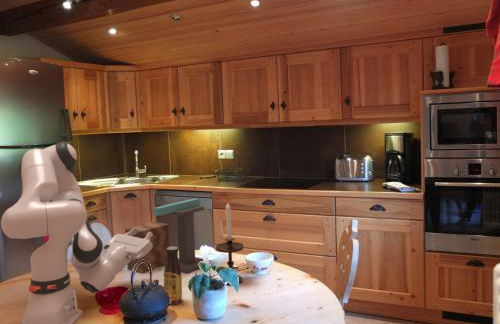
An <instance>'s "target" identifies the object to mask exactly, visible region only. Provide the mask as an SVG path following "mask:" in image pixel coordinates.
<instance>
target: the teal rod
mask: <svg viewBox="0 0 500 324" xmlns="http://www.w3.org/2000/svg"><path fill="white" fill-rule="evenodd" d="M196 206H201V200H200V198H191V199H186V200H180V201H178V202H173V203H167V204H165V205H159V206H157V207H153V215H154V216H157V217H158V216H160V217H161V216H164V215H169V214H168V213H172V212H176V211H180V210H184V209H188V208H192V207H196Z"/></svg>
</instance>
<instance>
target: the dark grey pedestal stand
mask: <svg viewBox="0 0 500 324" xmlns="http://www.w3.org/2000/svg"><path fill="white" fill-rule="evenodd" d="M202 211H205V206H201V205H200V206H196V207H192V208H188V209H184V210H180V211H176V212H172V213H168V214H167V215H171V216H172V215H173V216H176V222H177V224H176V225H177V243H178V246H177V247H178V261H179V263H180V264H181V273H182V274H187V275H189V274H191V273H193V272H195V271H199V270H201V269H200V268H199V266H198V263H199V262H200V261H203V259H204V258H201V257H197V256H196V247H195V246H196V245H195V244H196V243H195V225H194V224H195V223H194V222H195V221H194V213H198V212H202ZM165 266H166V263H165V265H164V267H165Z"/></svg>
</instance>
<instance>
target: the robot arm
mask: <svg viewBox="0 0 500 324" xmlns="http://www.w3.org/2000/svg"><path fill="white" fill-rule="evenodd" d="M78 160H79V159H78V155H77V151H76V149H75V148H74V146H72V145H71V144H70V143H69V142H67V141H62V142H61V141H60V142H57V143H55V144H53V145H50V146H48V147H45V148H43V149H42V148H31V149H29V150H27V151H26V152H25V153H24V155H23V156H22V159H21V160H20V161H19V163H18V164H17V165H18V166H17V172H18V174H19V177H20V178H21V181H22V182H21V183H22V184H21V185H22V192H21V195H20V198H19V199H18V201H17V202H15V203H14V204H13V205H12V206H11V207H9V208H7V209H6V210H5V211H4V213H3V214H2V216H1V219H0V220H1V221H0V225H1V230H2V232H3V233H4V235H5V236H6V237H7V238H9V239H19V240H20V239H21V240H27V239H32V238H33V239H34V238H40V237H42V238H43V237H45V236H50V237H49V240H48V241H47V243H45V242H44V244H43V245H41V246H39V247H38V248H37V249H35V250H34V251H33V252H32V254H31V255H30V270H31V278H30V283H29V286H28V292H29V293H28V295H29V296H28V299H27V304H26V307H25V313H24V315H23V317H22V320H21V323H20V324H74V323H75V322H76V321H77V320H78V319H79V318H80V317H81V316H82V315H83V314H84V313H83V310H82V309H79V308H78V302H77V295H76V290H75V289H74V288H73V287H72V286H71V284H70V283H71V275H70V273H69V271H68V270H69V269H68V253H69V252H68V250H69V246H70V244H71V241H72V240H73V241H72V245H71V246H72V247H71V248H72V251H71V252H72V253H71V264H72V266H73V268H74V269H75V270H76V273H77V275H78V276H79V280H80V285H81V286H82V287H83V288H84V289H86V290H87V291H88V292H91V293H99V292H101V291H103V290H105V288H107V286H109V284H111V282H112V281H114V280H115V278H116V276H117V275H118V274H119V273H120V272H122V271H123V270H124V269H125V268H126V267H127V264H128V263H129V262H130V261H131V259H132V260H136V259H140V258H142V257H144V256H145V255H146V254H147V253H148V252H149V251H150V250H151V249H152V247H153V245H152V243H151V242H150V238H151V237H152V236H153V234H152V232H148V233H147V234H146V235H147V236H146V237H145V238H144V239H142V238H137V237H133V236H132V235H135V234H136V233H137V230H136V229H132V230H131V231H130V232H128V233H126V234H125V233H124V234H122V233H117V234H115V235H113V236H112V237H111V238H110V239H109V241H107V243H106V244H104V245H103V241H102V239H101V238H100V236H98V234H97V233H96V232H95V231H94V230H93V228H92V226H91V223H90V221H89V219H88V213H87V210H86V207H85V200H84V196H83V192H82V190H81V188H80V185H79V183H78V181H77V179H76V177H75V175H74V174H73V173H75V170H76V166H77V164H78ZM102 251H103V252H104V253H105V254H102Z"/></svg>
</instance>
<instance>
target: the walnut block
mask: <svg viewBox="0 0 500 324" xmlns="http://www.w3.org/2000/svg"><path fill="white" fill-rule="evenodd" d="M132 229H136V230H137V233H136V234H135V235H132V236H133V237H137V238H142V239H144V238H145V237H146V236H147V235H146V234H147V233H148V232H152V234H153V236H152V237H151V238H150V242H151V243H152V245H153V247H152V249H151V250H150V251H149V252H148V253H147V254H146V255H145V256H144V257H142V258H140V259H136V260H132V259H131V261H130V262H129V263H128V264H127V266H126V267H127V270H128V269H130V270H129V271H132V269H133V267H134V265H135V264H136V263H137V262H138V261H140V260H142V259H145V260H147V261H149V263H150V264H151V268H152V270H155V269H157V268H161V267H163V266H164V267H165V263H166V262H167V248H168V247H170V233H169V231H170V230H169V223H165V222H164V223H163V222H156V221H151V222H146V223H143V224H139V225H136V226H132V227H127V228H125V229H124V232H125V233H124V235H125V234H126V233H128V232H130V231H131V230H132ZM152 270H151V271H152ZM147 272H150V271H149V269H148V266H147V264H146V263H142V264H140V265H139V266H138V268H137V270H136V273H140V274H145V273H147Z"/></svg>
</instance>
